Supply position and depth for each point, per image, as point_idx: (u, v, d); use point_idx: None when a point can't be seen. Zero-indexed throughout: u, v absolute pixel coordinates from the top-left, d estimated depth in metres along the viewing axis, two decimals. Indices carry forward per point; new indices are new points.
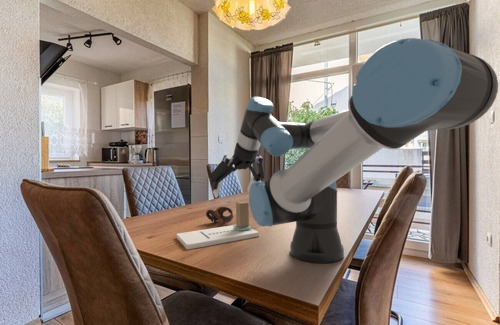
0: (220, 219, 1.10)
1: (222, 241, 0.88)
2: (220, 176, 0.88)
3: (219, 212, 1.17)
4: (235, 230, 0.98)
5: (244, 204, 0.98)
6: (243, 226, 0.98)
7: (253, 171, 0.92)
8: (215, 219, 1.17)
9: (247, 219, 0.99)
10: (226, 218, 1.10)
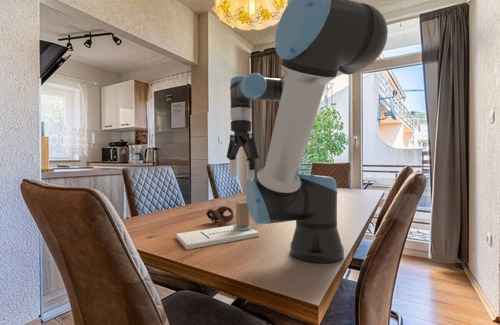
0: (221, 219, 1.10)
1: (222, 241, 0.88)
2: None
3: (219, 212, 1.18)
4: (235, 230, 0.98)
5: (244, 204, 0.98)
6: (243, 226, 0.98)
7: (244, 148, 0.94)
8: (215, 219, 1.18)
9: (247, 219, 0.99)
10: (227, 218, 1.10)
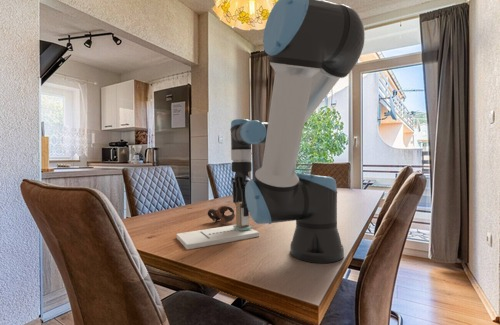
0: (222, 218, 1.11)
1: (222, 241, 0.88)
2: None
3: (220, 211, 1.19)
4: (235, 230, 0.98)
5: None
6: (243, 226, 0.98)
7: (241, 192, 0.97)
8: (216, 218, 1.18)
9: None
10: (228, 217, 1.11)
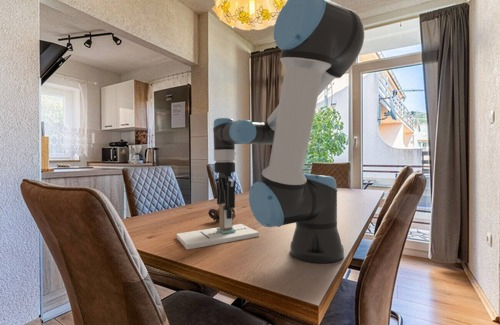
0: None
1: (222, 241, 0.88)
2: None
3: None
4: None
5: None
6: (226, 229, 0.95)
7: (224, 194, 0.94)
8: (217, 218, 1.19)
9: None
10: None
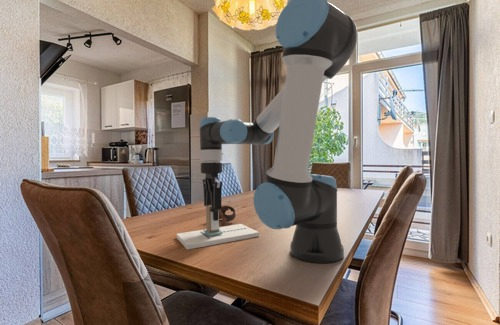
0: (223, 218, 1.12)
1: (222, 241, 0.88)
2: None
3: (221, 211, 1.20)
4: (235, 230, 0.98)
5: None
6: (213, 231, 0.92)
7: (211, 195, 0.91)
8: None
9: None
10: (229, 217, 1.12)
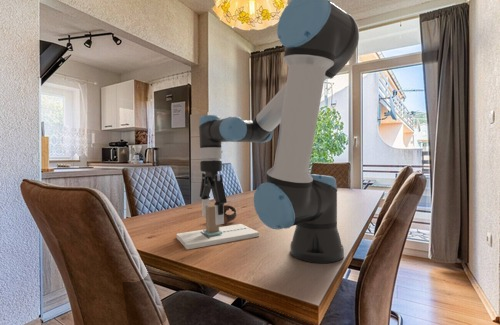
0: (224, 217, 1.13)
1: (222, 241, 0.88)
2: None
3: None
4: (235, 230, 0.98)
5: (213, 207, 0.92)
6: (212, 231, 0.92)
7: (213, 190, 0.89)
8: None
9: None
10: (230, 216, 1.13)
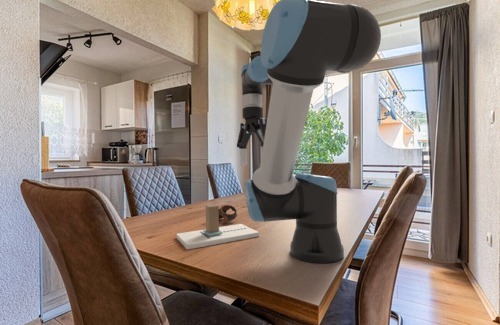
0: (225, 217, 1.13)
1: (222, 241, 0.88)
2: None
3: (222, 210, 1.21)
4: (235, 230, 0.98)
5: (213, 207, 0.92)
6: (212, 231, 0.92)
7: (257, 134, 0.93)
8: (219, 217, 1.21)
9: (217, 223, 0.93)
10: (231, 216, 1.14)
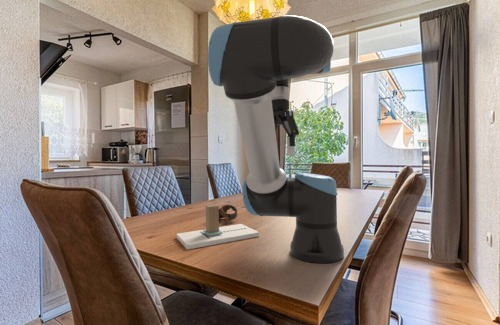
0: (226, 217, 1.14)
1: (222, 241, 0.88)
2: None
3: (223, 210, 1.22)
4: (235, 230, 0.98)
5: (213, 207, 0.92)
6: (212, 231, 0.92)
7: (284, 125, 0.96)
8: (219, 217, 1.21)
9: (217, 223, 0.93)
10: (231, 215, 1.14)
